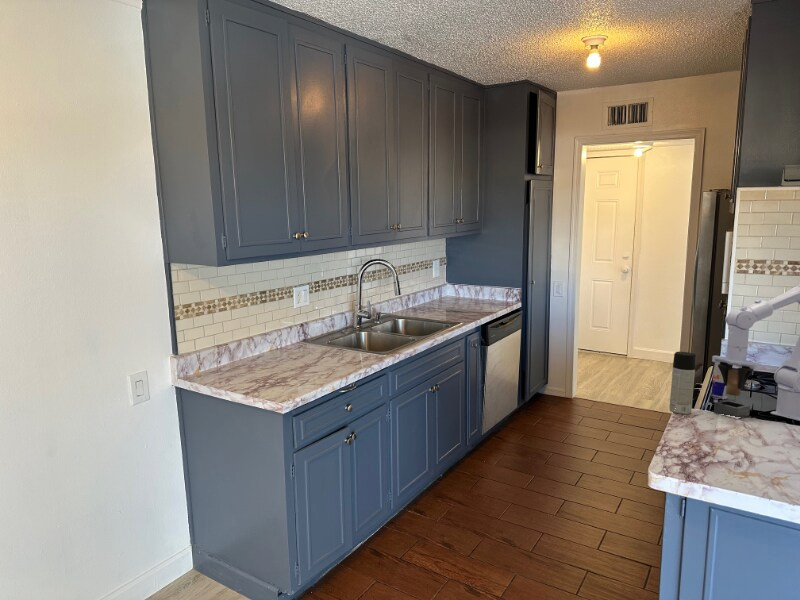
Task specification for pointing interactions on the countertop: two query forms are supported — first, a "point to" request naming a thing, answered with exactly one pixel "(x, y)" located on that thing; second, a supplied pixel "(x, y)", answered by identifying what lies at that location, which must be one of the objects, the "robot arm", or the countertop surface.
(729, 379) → the peg
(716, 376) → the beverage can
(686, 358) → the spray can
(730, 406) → the socket
